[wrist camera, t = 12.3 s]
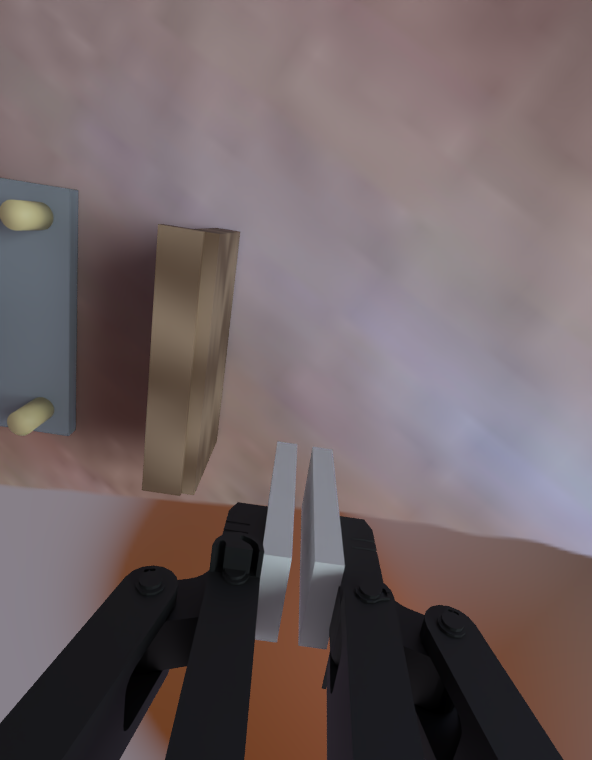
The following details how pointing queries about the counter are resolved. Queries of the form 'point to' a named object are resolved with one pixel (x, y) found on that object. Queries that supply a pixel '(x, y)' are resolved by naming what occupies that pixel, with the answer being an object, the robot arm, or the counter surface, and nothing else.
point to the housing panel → (187, 354)
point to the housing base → (38, 307)
